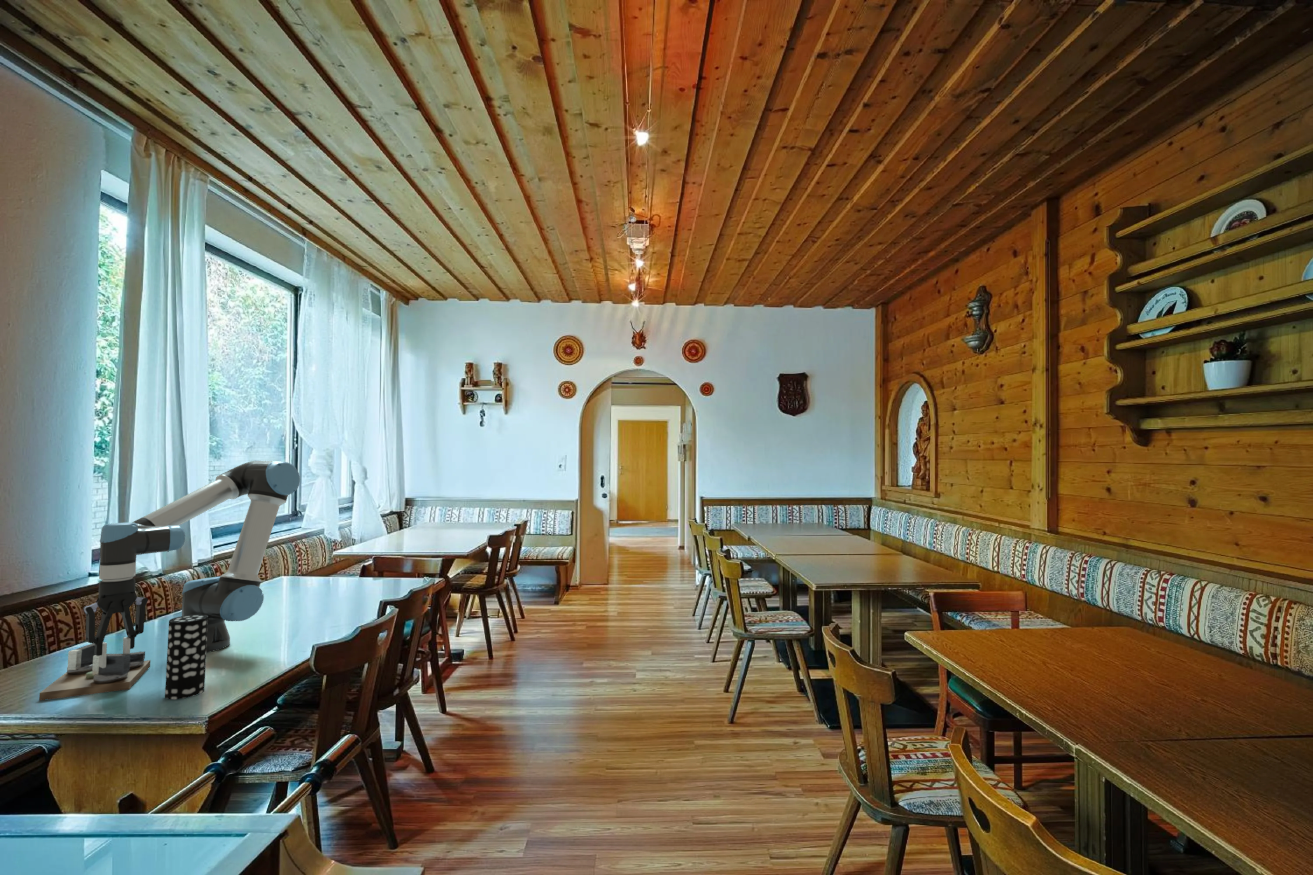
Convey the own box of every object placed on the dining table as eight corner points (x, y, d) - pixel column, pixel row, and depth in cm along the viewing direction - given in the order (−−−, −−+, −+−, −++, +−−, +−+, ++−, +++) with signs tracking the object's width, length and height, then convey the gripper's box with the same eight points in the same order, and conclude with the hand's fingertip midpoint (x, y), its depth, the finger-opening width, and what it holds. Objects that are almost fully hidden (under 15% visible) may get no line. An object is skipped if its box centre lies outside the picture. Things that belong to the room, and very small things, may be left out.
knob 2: (136, 674, 167) (137, 650, 167) (115, 683, 160) (116, 658, 160) (106, 674, 167) (107, 650, 167) (83, 683, 160) (85, 658, 160)
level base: (150, 666, 180) (150, 655, 180) (129, 689, 162) (129, 677, 162) (70, 675, 171) (71, 664, 171) (39, 700, 154) (39, 687, 154)
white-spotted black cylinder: (179, 687, 163) (183, 614, 164) (211, 687, 164) (215, 614, 165) (156, 699, 155) (161, 622, 156) (190, 699, 156) (194, 622, 157)
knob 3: (147, 660, 178) (147, 648, 178) (140, 667, 172) (140, 655, 172) (116, 664, 175) (116, 651, 175) (107, 671, 169) (108, 658, 169)
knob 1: (83, 665, 173) (84, 642, 174) (108, 665, 174) (110, 642, 174) (57, 675, 165) (59, 651, 166) (84, 674, 166) (86, 651, 166)
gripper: (151, 572, 174) (148, 653, 173) (70, 582, 159) (66, 671, 158) (161, 575, 170) (158, 657, 169) (79, 585, 155) (76, 676, 154)
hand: (114, 663), depth 164 cm, fingers closed on knob 2, 4 cm apart
